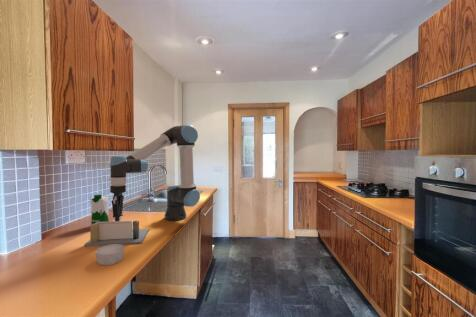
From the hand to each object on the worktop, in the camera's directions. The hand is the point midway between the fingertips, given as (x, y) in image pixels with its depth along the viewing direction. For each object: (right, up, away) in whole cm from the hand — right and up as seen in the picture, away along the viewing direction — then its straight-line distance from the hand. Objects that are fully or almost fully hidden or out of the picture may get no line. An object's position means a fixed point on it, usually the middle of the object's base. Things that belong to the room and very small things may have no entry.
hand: (117, 228), depth 131 cm
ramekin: (+9, -7, -25) cm, 28 cm away
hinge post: (+10, -6, -1) cm, 12 cm away
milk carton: (-22, -5, +23) cm, 33 cm away
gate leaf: (-1, -4, -3) cm, 5 cm away
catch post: (-8, -6, -7) cm, 12 cm away
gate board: (0, -6, +3) cm, 6 cm away
